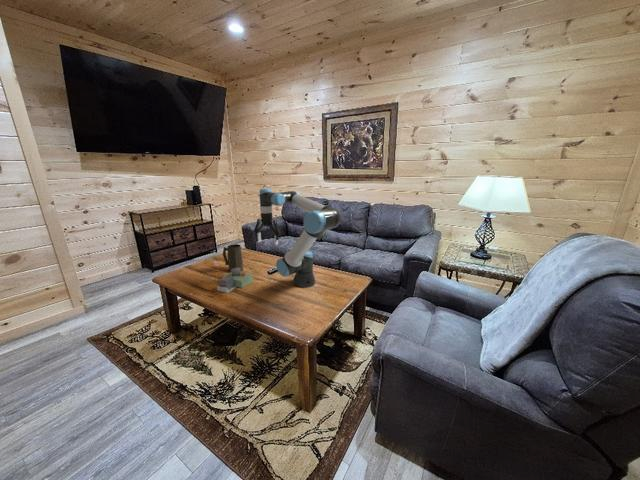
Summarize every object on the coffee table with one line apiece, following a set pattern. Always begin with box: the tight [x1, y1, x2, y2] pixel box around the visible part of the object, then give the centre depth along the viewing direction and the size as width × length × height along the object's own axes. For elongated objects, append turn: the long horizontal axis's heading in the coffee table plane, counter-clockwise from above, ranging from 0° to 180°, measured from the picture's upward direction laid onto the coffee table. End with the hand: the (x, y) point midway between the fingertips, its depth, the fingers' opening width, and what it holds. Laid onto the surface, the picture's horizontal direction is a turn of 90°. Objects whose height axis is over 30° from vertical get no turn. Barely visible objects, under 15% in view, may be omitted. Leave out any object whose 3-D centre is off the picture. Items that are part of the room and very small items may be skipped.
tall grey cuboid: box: [219, 276, 234, 290], centre depth 171 cm, size 5×7×7 cm
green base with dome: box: [216, 268, 254, 294], centre depth 176 cm, size 16×22×9 cm
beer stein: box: [222, 243, 244, 273], centre depth 200 cm, size 15×11×20 cm
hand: (267, 243), depth 179 cm, fingers open, 13 cm apart
